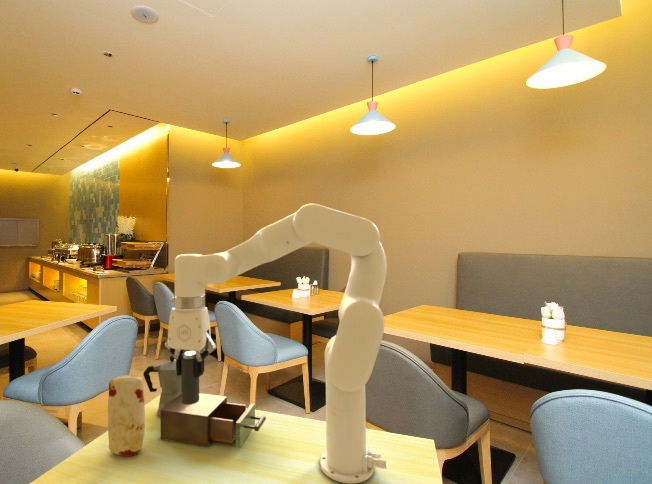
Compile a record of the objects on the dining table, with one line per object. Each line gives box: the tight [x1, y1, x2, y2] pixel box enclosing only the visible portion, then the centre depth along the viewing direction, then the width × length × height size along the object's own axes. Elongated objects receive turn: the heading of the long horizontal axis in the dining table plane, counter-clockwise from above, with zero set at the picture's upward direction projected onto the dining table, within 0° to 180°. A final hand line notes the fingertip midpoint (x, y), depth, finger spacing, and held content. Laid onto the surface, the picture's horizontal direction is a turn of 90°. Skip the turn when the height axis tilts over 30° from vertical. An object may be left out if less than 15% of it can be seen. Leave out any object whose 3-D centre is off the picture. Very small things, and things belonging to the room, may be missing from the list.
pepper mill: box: [181, 350, 200, 405], centre depth 90 cm, size 4×4×12 cm
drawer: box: [209, 401, 267, 448], centre depth 100 cm, size 18×11×6 cm, turn 74°
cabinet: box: [159, 392, 228, 448], centre depth 103 cm, size 15×13×8 cm
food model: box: [107, 374, 146, 457], centre depth 93 cm, size 10×7×20 cm
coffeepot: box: [143, 355, 181, 416], centre depth 115 cm, size 15×9×18 cm, turn 114°
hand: (190, 374), depth 90 cm, fingers closed on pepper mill, 4 cm apart
